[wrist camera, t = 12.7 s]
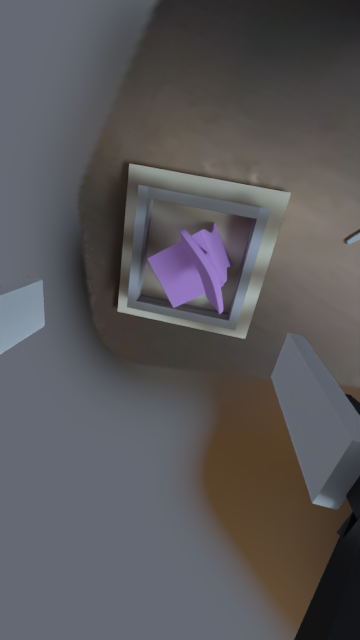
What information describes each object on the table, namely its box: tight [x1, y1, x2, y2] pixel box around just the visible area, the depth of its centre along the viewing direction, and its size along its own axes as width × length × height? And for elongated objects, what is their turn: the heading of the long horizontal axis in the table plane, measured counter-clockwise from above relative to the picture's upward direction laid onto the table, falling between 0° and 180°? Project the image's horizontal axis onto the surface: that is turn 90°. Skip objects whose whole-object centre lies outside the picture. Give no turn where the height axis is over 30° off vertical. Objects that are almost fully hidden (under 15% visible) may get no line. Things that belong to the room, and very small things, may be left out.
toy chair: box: [147, 222, 233, 314], centre depth 28 cm, size 8×9×15 cm
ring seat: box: [118, 163, 291, 339], centre depth 34 cm, size 20×20×4 cm
